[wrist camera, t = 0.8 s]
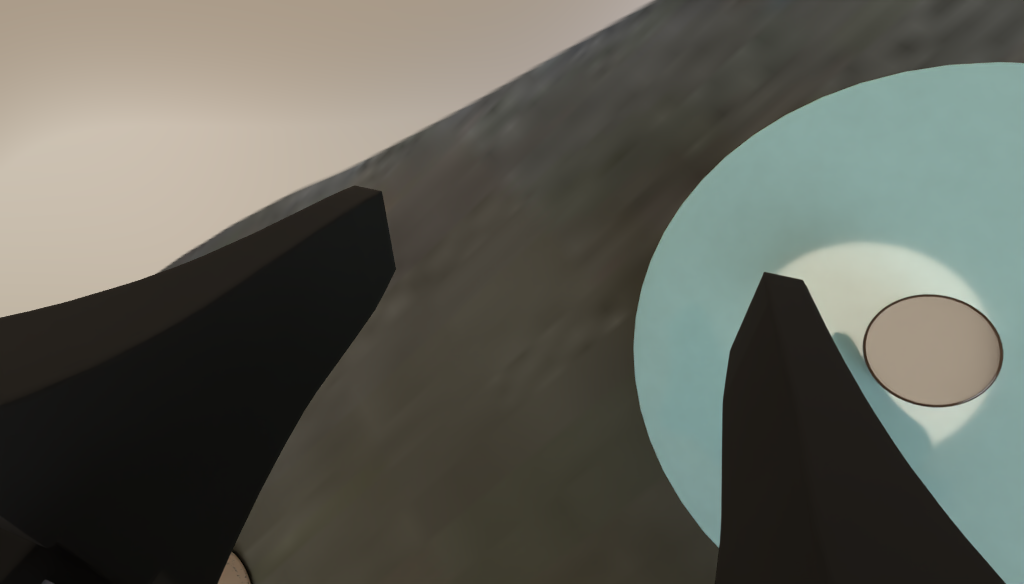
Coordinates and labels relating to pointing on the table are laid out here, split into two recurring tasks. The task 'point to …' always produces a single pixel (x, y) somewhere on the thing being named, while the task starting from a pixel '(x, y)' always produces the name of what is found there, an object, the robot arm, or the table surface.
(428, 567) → the table surface
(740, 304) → the pan lid
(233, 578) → the teacup with lid
